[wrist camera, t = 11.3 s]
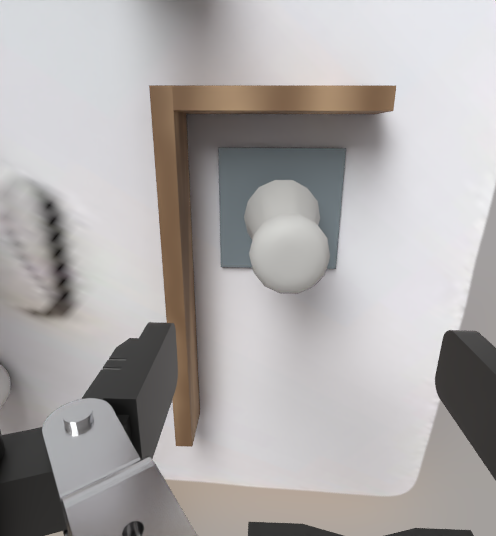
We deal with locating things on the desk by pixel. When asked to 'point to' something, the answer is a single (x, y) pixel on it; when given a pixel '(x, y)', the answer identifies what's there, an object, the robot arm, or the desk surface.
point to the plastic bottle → (4, 385)
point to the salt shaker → (286, 237)
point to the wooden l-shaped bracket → (178, 194)
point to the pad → (269, 169)
